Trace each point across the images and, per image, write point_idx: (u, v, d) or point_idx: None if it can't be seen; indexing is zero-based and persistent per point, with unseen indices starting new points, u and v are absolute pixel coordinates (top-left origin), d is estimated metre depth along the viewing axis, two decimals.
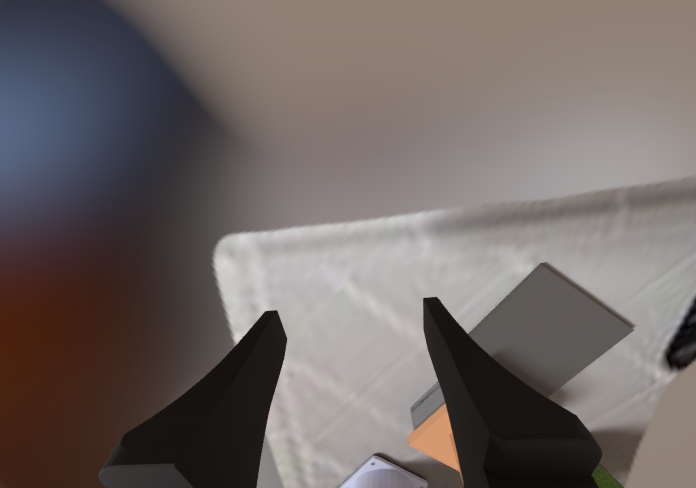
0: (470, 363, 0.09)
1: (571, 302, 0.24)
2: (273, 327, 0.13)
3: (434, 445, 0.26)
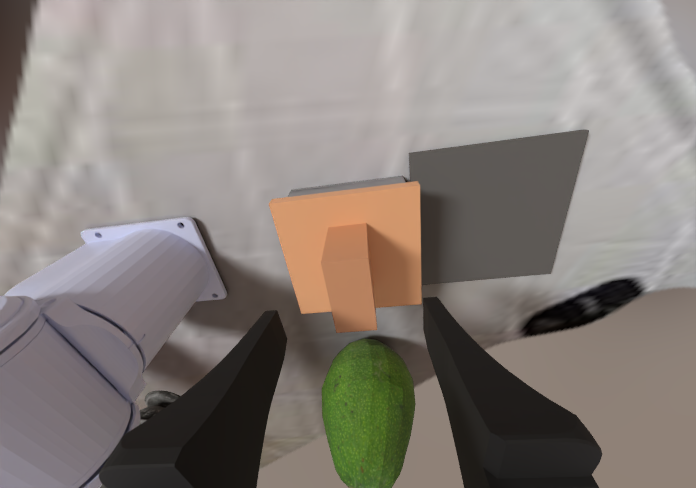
0: (470, 363, 0.09)
1: (553, 199, 0.20)
2: (273, 327, 0.13)
3: (298, 229, 0.18)
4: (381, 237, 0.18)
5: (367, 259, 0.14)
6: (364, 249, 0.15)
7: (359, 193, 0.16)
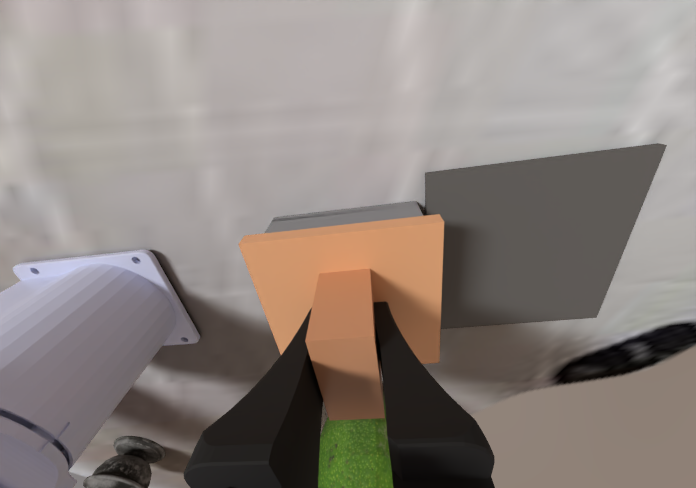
0: (396, 367, 0.09)
1: (609, 232, 0.15)
2: None
3: (279, 275, 0.13)
4: (389, 286, 0.13)
5: (373, 337, 0.10)
6: (367, 318, 0.10)
7: (360, 231, 0.12)
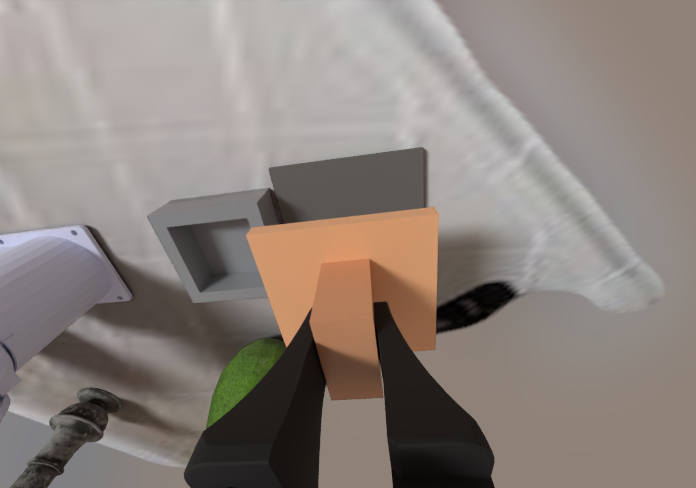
0: (396, 368, 0.09)
1: None
2: None
3: (284, 265, 0.14)
4: (388, 275, 0.14)
5: (371, 319, 0.10)
6: (367, 302, 0.11)
7: (360, 223, 0.13)
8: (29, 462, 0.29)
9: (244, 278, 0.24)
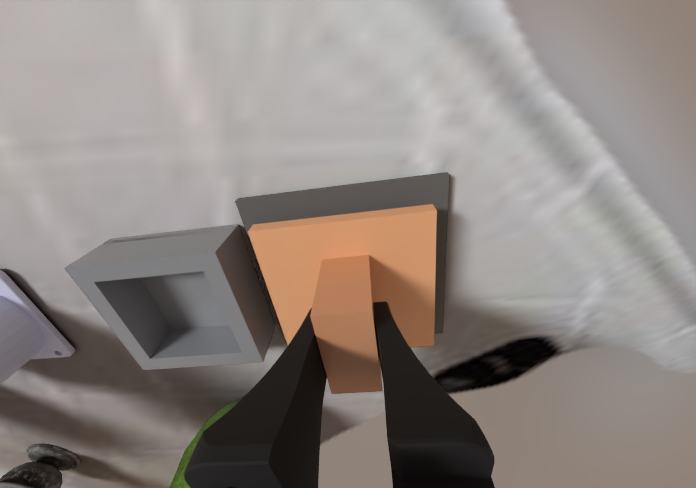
0: (396, 367, 0.09)
1: None
2: None
3: (285, 261, 0.14)
4: (387, 271, 0.14)
5: (371, 312, 0.11)
6: (366, 296, 0.11)
7: (360, 220, 0.13)
8: None
9: (210, 336, 0.18)
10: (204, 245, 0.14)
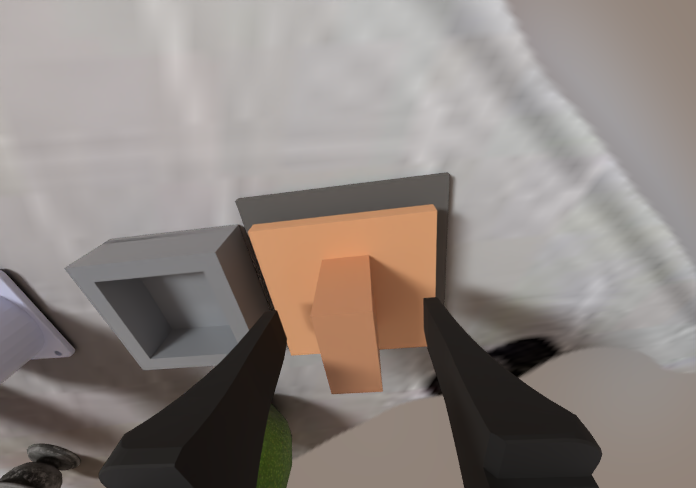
0: (470, 363, 0.09)
1: None
2: (273, 327, 0.13)
3: (285, 261, 0.14)
4: (387, 271, 0.14)
5: (371, 313, 0.11)
6: (367, 297, 0.11)
7: (360, 220, 0.13)
8: None
9: (210, 336, 0.18)
10: (204, 245, 0.14)
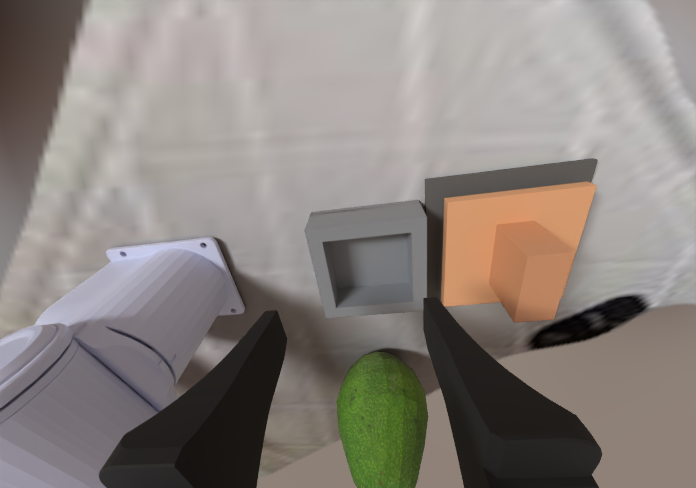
0: (470, 363, 0.09)
1: None
2: (273, 327, 0.13)
3: (467, 226, 0.19)
4: None
5: (573, 253, 0.15)
6: (561, 244, 0.16)
7: (537, 192, 0.18)
8: None
9: (376, 292, 0.23)
10: (410, 213, 0.19)
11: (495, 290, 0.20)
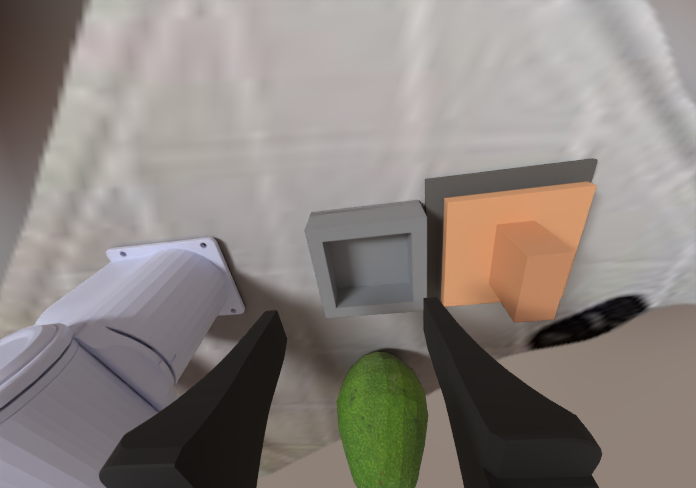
0: (470, 363, 0.09)
1: None
2: (273, 327, 0.13)
3: (467, 226, 0.19)
4: None
5: (573, 253, 0.15)
6: (561, 244, 0.16)
7: (537, 192, 0.18)
8: None
9: (376, 292, 0.23)
10: (410, 213, 0.19)
11: (495, 290, 0.20)
